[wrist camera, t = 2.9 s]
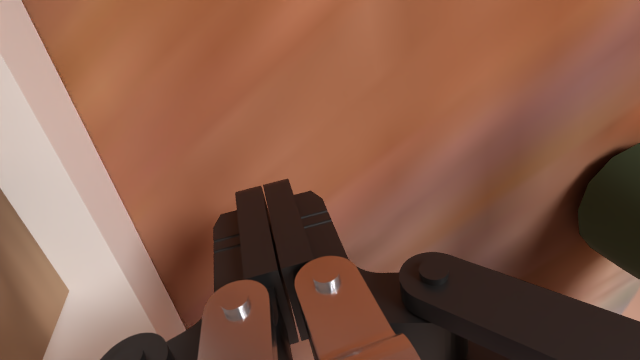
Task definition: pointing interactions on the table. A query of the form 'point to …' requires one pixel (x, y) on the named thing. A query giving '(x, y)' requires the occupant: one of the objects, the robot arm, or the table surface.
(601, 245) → the character mug
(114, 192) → the board
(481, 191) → the table surface
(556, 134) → the table surface
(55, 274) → the walnut block
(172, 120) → the table surface
